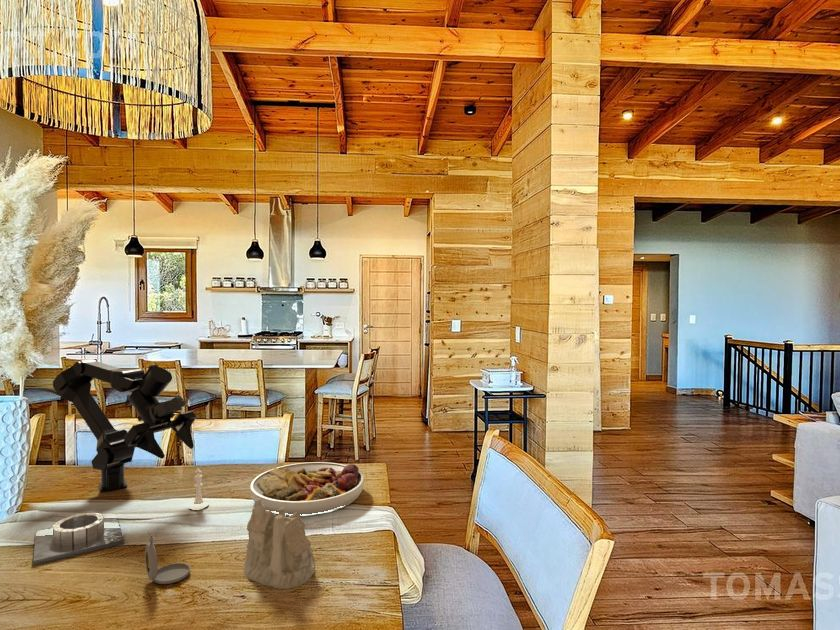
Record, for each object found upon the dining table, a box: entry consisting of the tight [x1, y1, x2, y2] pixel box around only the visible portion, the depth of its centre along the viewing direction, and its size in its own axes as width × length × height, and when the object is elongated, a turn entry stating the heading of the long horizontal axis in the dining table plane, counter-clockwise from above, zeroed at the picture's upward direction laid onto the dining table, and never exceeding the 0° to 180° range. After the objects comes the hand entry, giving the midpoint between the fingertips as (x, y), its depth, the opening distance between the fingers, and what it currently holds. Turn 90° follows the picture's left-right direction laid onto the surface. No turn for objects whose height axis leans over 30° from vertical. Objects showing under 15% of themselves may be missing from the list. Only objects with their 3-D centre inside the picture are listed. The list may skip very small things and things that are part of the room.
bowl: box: [249, 461, 365, 515], centre depth 141 cm, size 30×30×8 cm
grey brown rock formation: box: [243, 498, 316, 590], centre depth 106 cm, size 16×16×15 cm
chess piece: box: [193, 468, 204, 504], centre depth 134 cm, size 5×5×10 cm
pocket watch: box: [144, 530, 191, 585], centre depth 100 cm, size 8×8×10 cm
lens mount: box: [32, 512, 125, 566], centre depth 116 cm, size 16×16×4 cm
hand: (178, 452), depth 136 cm, fingers open, 9 cm apart
